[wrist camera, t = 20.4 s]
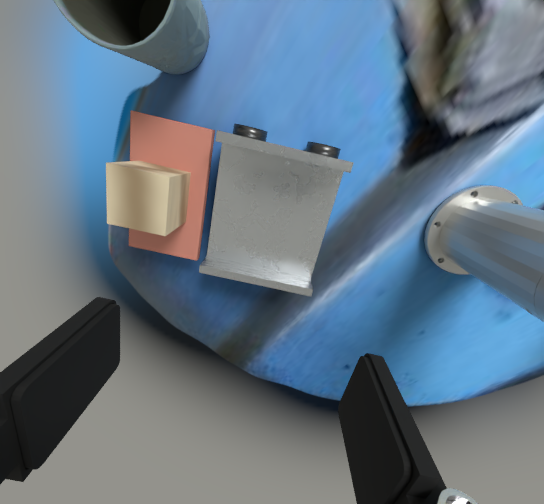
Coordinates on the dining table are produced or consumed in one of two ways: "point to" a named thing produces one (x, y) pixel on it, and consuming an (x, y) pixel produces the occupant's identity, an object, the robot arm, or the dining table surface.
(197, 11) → the grey round bin
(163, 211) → the box
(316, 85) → the dining table surface
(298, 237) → the cart
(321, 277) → the dining table surface
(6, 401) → the robot arm
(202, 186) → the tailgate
